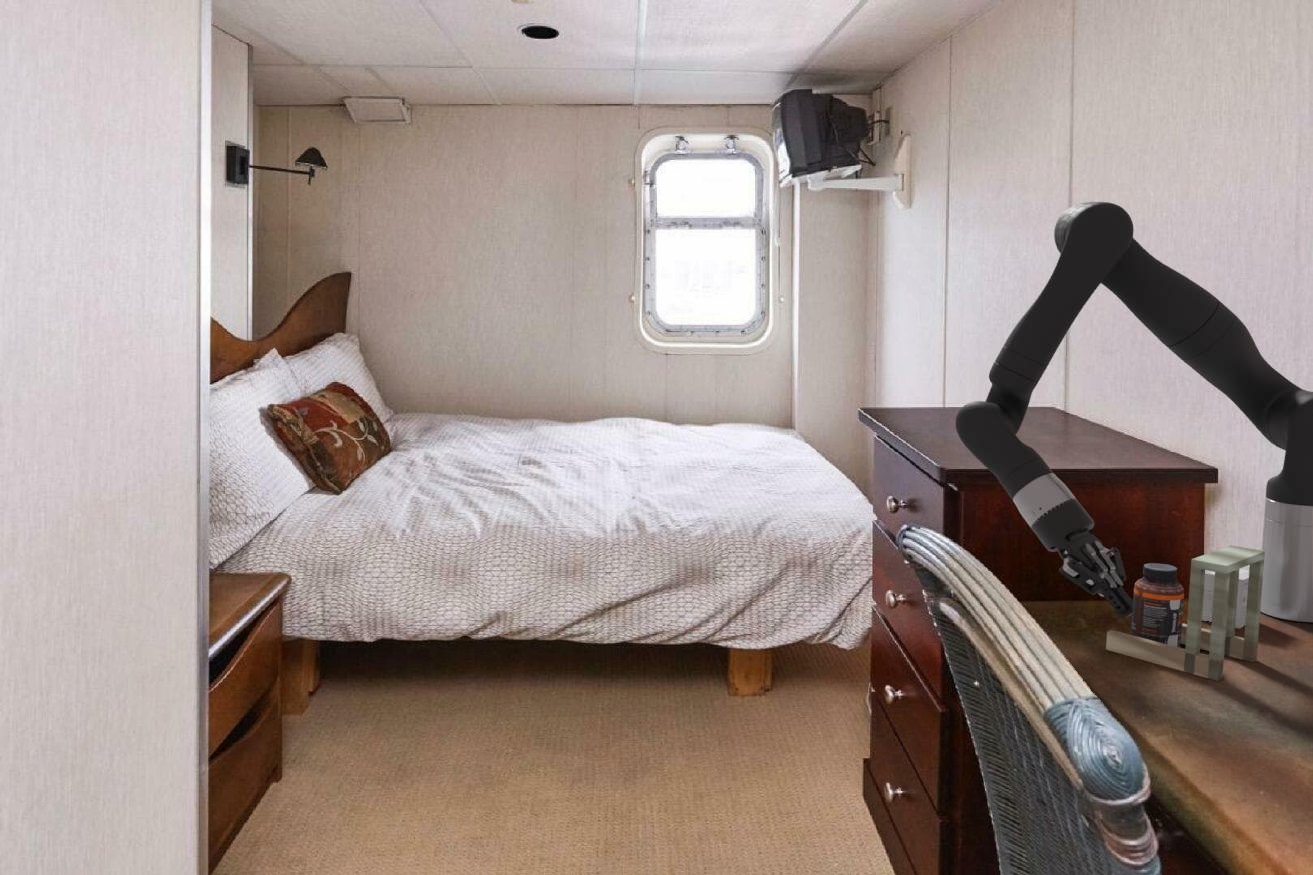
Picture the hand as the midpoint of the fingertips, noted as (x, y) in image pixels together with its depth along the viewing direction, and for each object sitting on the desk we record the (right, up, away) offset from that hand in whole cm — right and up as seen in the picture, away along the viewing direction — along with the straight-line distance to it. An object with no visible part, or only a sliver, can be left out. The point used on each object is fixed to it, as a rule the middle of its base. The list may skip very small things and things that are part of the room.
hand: (1130, 614), depth 129 cm
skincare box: (+19, -3, +9) cm, 21 cm away
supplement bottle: (+2, -4, -2) cm, 5 cm away
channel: (+4, -4, -5) cm, 8 cm away
